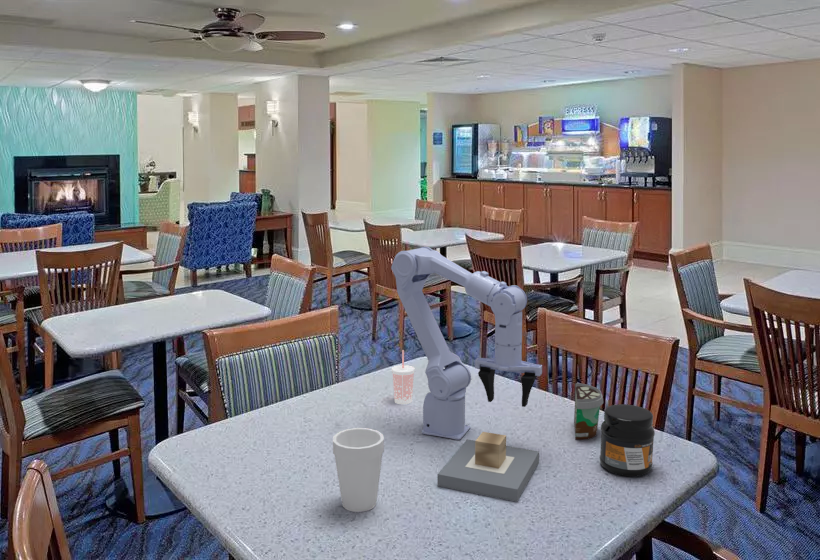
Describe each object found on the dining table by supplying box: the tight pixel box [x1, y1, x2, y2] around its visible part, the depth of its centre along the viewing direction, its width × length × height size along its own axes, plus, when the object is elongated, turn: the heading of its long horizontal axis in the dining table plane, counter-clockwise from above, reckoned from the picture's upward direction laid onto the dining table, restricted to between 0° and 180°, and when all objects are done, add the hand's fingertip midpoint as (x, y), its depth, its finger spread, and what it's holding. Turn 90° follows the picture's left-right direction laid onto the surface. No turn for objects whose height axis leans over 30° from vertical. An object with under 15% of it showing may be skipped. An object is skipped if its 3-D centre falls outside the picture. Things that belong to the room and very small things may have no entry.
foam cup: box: [332, 427, 385, 513], centre depth 128 cm, size 10×9×13 cm
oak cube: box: [474, 431, 507, 468], centre depth 140 cm, size 5×5×5 cm
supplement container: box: [599, 403, 655, 478], centre depth 142 cm, size 10×10×12 cm
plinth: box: [436, 439, 540, 502], centre depth 140 cm, size 16×18×3 cm
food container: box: [573, 382, 604, 441], centre depth 160 cm, size 12×6×10 cm, turn 168°
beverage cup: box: [390, 349, 416, 406], centre depth 180 cm, size 6×6×14 cm
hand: (507, 402), depth 151 cm, fingers open, 7 cm apart
